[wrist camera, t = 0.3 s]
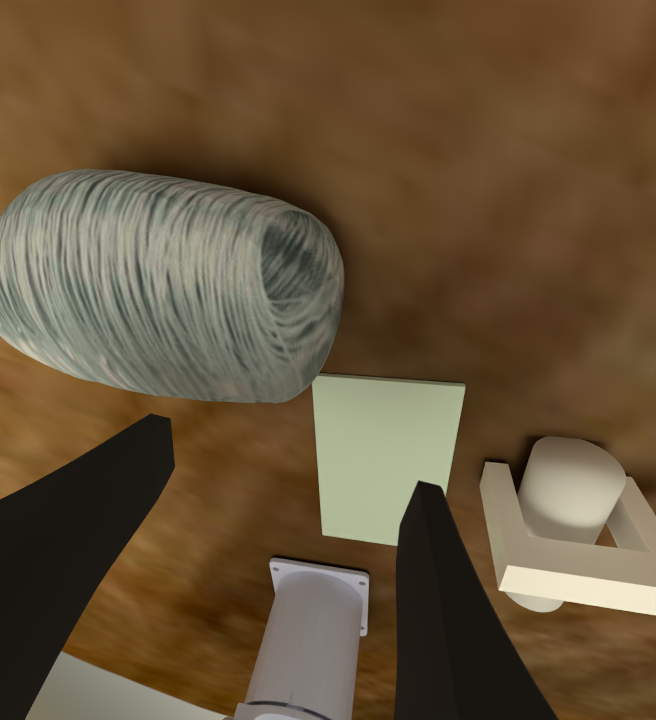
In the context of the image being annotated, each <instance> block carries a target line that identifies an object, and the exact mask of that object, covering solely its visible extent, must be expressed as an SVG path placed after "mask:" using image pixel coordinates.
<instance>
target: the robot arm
mask: <svg viewBox="0 0 656 720" xmlns="http://www.w3.org/2000/svg"><path fill="white" fill-rule="evenodd" d="M174 468H175V462H174V451H173V440H172V430H171V419H170V418H166V417H162V416H158V415H154V414H149V415H148V416H146V417H144V418H143V419H141V420H139V421H138V422H136V423H134V424H133V425H131V426H129V427H128V428H126V429H125V430H123V431H121V432H120V433H118V434H117V435H115V436H113V437H112V438H110V439H108V440H107V441H105V442H104V443H102V444H100V445H99V446H97V447H95V448H94V449H92V450H90V451H89V452H87V453H85V454H84V455H82V456H80V457H79V458H77V459H75V460H74V461H72V462H70V463H68V464H67V465H65V466H63V467H61V468H59V469H58V470H56V471H54V472H52V473H50V474H48V475H47V476H45V477H43V478H41V479H39V480H38V481H36V482H34V483H32V484H30V485H28V486H26V487H24V488H22V489H20V490H18V491H16V492H14V493H12V494H10V495H8V496H6V497H4V498H2V499H0V720H25V718H26V716H27V714H28V712H29V710H30V708H31V706H32V704H33V702H34V701H35V699H36V697H37V695H38V693H39V691H40V689H41V687H42V685H43V683H44V681H45V680H46V678H47V676H48V674H49V672H50V670H51V668H52V666H53V664H54V663H55V661H56V659H57V657H58V655H59V653H60V652H61V650H62V648H63V646H64V645H65V643H66V641H67V639H68V637H69V635H70V634H71V632H72V630H73V628H74V626H75V625H76V623H77V621H78V619H79V618H80V616H81V614H82V613H83V611H84V609H85V607H86V606H87V604H88V602H89V601H90V599H91V597H92V595H93V594H94V592H95V590H96V588H97V587H98V585H99V584H100V582H101V581H102V579H103V578H104V576H105V575H106V573H107V572H108V570H109V569H110V567H111V566H112V564H113V563H114V562H115V560H116V559H117V557H118V556H119V554H120V553H121V552H122V550H123V549H124V547H125V546H126V544H127V543H128V542H129V540H130V539H131V537H132V536H133V535H134V533H135V532H136V530H137V529H138V527H139V526H140V525H141V523H142V522H143V520H144V519H145V517H146V516H147V514H148V513H149V512H150V510H151V509H152V507H153V506H154V504H155V503H156V501H157V500H158V498H159V496H160V495H161V493H162V491H163V489H164V487H165V485H166V484H167V482H168V480H169V478H170V476H171V474H172V472H173V470H174ZM270 569H271V574H272V580H273V585H274V590H275V598H274V602H273V605H272V609H271V612H270V616H269V619H268V623H267V626H266V629H265V633H264V636H263V640H262V643H261V647H260V650H259V654H258V657H257V661H256V664H255V668H254V671H253V675H252V678H251V681H250V685H249V688H248V692H247V695H246V699H245V702H244V704H243V703H238V705H237V709H236V712H235V715H234V718H231V717H226V718H224V719H223V720H351V716H352V706H353V697H354V687H355V677H356V667H357V658H358V648H359V638H360V636H366V635H367V623H368V596H369V575H368V574H367V573H365V572H362V571H355V570H349V569H343V568H337V567H330V566H324V565H318V564H312V563H306V562H299V561H293V560H287V559H281V558H272V559H271V560H270ZM396 603H397V682H396V697H395V712H394V720H559V719H558V718H557V716H556V715H555V713H554V711H553V710H552V708H551V707H550V705H549V704H548V702H547V701H546V699H545V698H544V696H543V695H542V693H541V691H540V690H539V688H538V686H537V685H536V683H535V681H534V680H533V678H532V676H531V675H530V673H529V671H528V670H527V668H526V666H525V665H524V663H523V661H522V660H521V658H520V656H519V654H518V653H517V651H516V649H515V647H514V646H513V644H512V642H511V640H510V639H509V637H508V635H507V633H506V631H505V629H504V628H503V626H502V624H501V622H500V620H499V618H498V616H497V614H496V612H495V610H494V608H493V606H492V604H491V602H490V600H489V598H488V596H487V594H486V592H485V590H484V588H483V586H482V584H481V582H480V580H479V578H478V576H477V573H476V571H475V569H474V567H473V564H472V562H471V560H470V558H469V555H468V553H467V551H466V549H465V546H464V544H463V542H462V539H461V537H460V534H459V532H458V529H457V527H456V524H455V522H454V519H453V516H452V514H451V511H450V508H449V506H448V503H447V500H446V497H445V494H444V491H443V489H442V488H441V486H439V485H435V484H431V483H427V482H423V481H419V480H418V482H417V484H416V487H415V489H414V492H413V494H412V496H411V499H410V501H409V504H408V506H407V508H406V511H405V513H404V516H403V518H402V520H401V523H400V525H399V535H398V545H397V557H396Z"/></svg>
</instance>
